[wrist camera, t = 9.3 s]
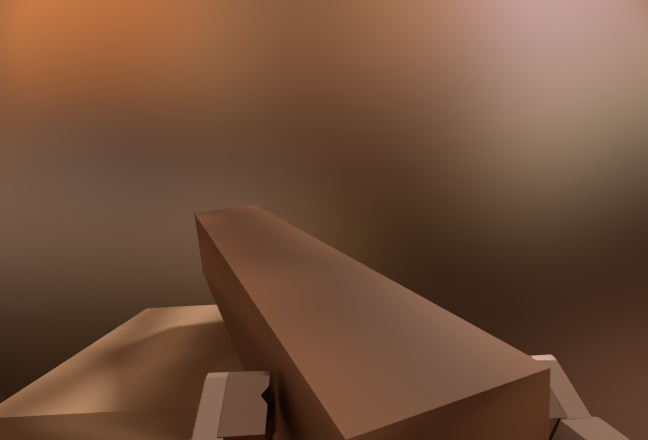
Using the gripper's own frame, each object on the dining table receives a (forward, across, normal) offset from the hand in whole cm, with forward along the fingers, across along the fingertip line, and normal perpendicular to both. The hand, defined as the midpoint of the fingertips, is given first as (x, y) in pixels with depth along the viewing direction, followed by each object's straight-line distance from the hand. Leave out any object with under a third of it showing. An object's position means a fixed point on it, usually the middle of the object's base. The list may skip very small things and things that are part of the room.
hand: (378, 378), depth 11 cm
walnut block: (+6, -3, -5) cm, 9 cm away
